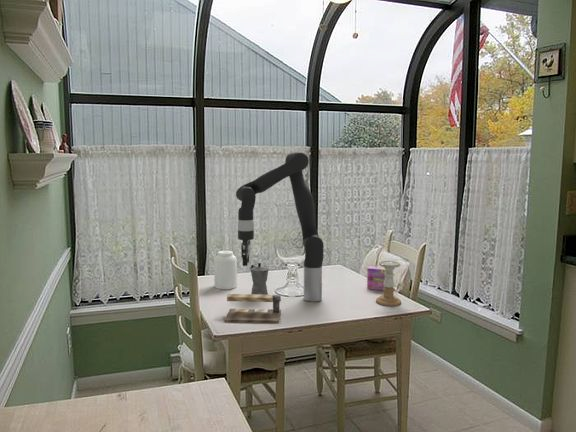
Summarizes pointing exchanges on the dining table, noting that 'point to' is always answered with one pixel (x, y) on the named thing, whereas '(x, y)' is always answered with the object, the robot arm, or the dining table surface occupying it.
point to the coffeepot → (259, 279)
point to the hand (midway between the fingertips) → (245, 263)
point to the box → (375, 277)
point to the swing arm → (253, 298)
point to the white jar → (225, 270)
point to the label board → (255, 315)
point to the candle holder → (388, 285)
